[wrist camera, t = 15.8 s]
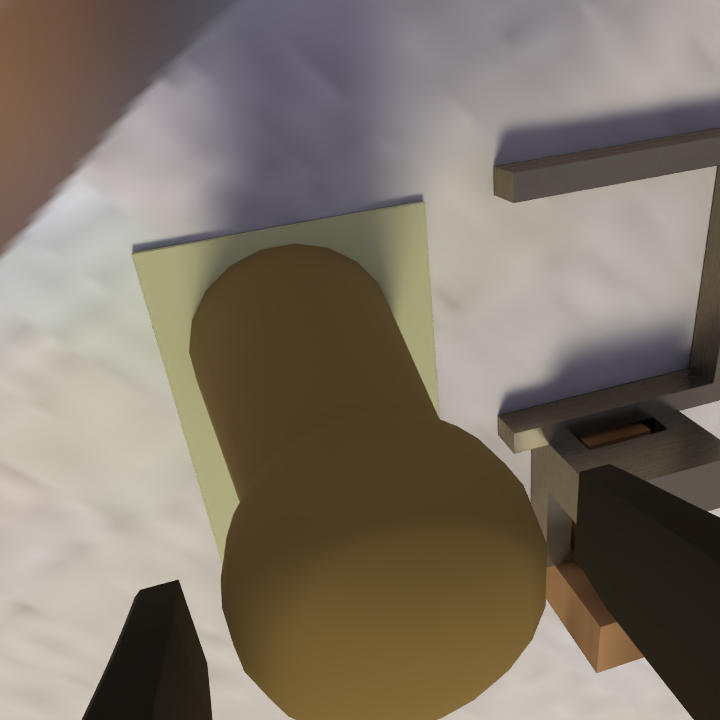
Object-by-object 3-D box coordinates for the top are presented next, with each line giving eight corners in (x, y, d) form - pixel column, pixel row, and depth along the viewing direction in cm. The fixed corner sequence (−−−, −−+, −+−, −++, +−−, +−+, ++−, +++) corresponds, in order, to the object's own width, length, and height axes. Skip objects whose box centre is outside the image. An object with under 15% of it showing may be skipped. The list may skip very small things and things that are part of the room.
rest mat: (422, 201, 18) (424, 202, 17) (447, 564, 24) (449, 568, 24) (132, 252, 16) (131, 254, 16) (240, 623, 22) (241, 628, 22)
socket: (746, 123, 19) (872, 136, 16) (686, 501, 26) (765, 569, 22) (493, 166, 18) (570, 191, 14) (500, 555, 24) (553, 637, 21)
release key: (645, 405, 23) (725, 465, 19) (627, 566, 26) (692, 640, 23) (546, 430, 22) (612, 497, 19) (542, 592, 26) (596, 673, 22)
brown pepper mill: (275, 467, 20) (361, 847, 10) (141, 332, 17) (84, 686, 7) (428, 355, 19) (668, 638, 10) (319, 198, 17) (506, 382, 7)
